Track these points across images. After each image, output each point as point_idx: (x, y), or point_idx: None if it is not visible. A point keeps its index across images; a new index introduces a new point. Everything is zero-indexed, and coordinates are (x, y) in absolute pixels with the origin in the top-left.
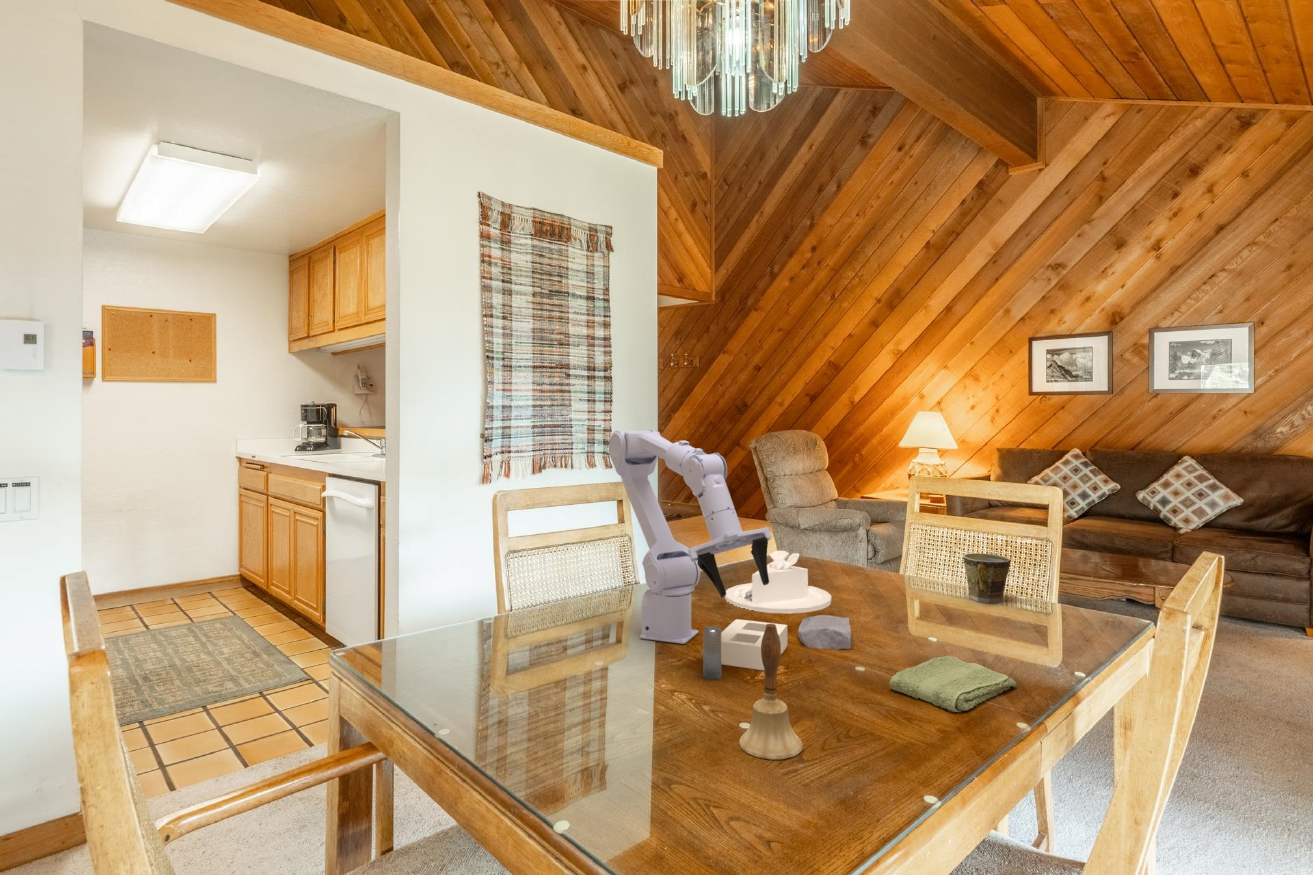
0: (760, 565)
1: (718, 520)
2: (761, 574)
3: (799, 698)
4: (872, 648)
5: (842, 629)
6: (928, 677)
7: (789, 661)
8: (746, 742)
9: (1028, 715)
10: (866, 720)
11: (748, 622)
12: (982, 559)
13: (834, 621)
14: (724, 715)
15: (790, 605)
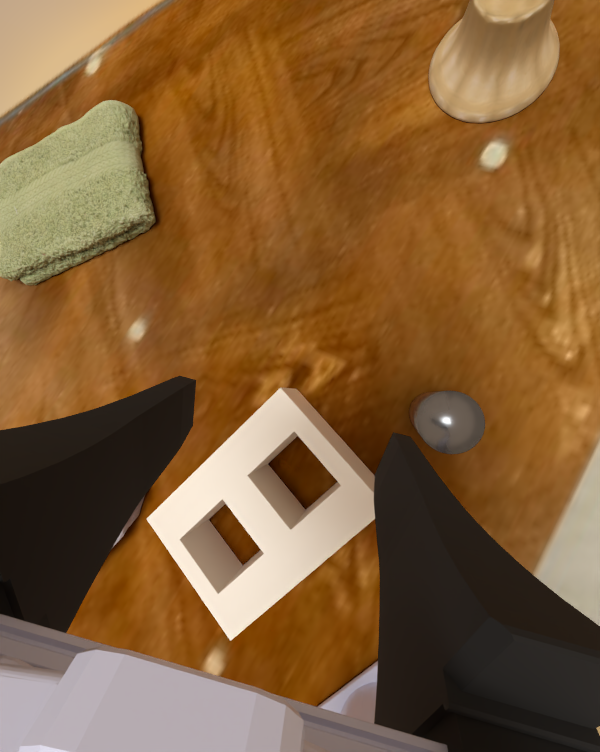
0: (142, 432)
1: None
2: (169, 434)
3: (320, 239)
4: (56, 409)
5: None
6: (96, 176)
7: (227, 419)
8: (554, 43)
9: (64, 91)
10: (271, 124)
11: (217, 593)
12: None
13: None
14: (513, 207)
15: None
